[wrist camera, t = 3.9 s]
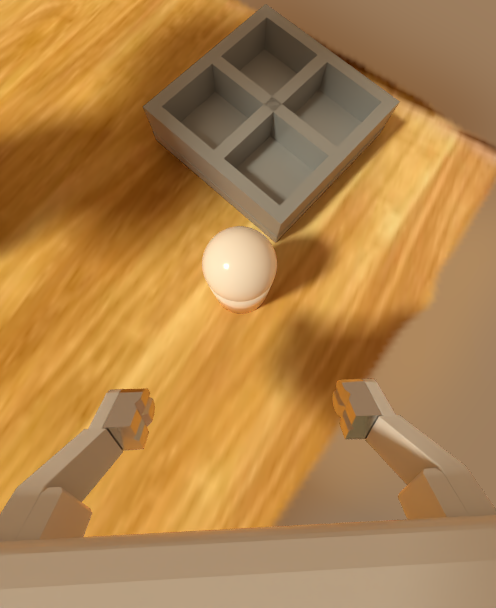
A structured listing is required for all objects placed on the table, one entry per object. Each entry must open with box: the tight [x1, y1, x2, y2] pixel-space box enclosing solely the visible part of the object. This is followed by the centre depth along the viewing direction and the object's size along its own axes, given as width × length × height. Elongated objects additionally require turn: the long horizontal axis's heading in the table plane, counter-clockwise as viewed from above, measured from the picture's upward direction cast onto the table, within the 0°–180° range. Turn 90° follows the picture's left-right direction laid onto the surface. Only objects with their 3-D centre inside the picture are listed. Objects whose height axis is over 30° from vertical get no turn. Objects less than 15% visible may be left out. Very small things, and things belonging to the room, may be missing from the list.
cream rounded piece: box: [202, 226, 277, 314], centre depth 18 cm, size 5×5×9 cm
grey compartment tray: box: [143, 4, 400, 243], centre depth 23 cm, size 17×17×4 cm
